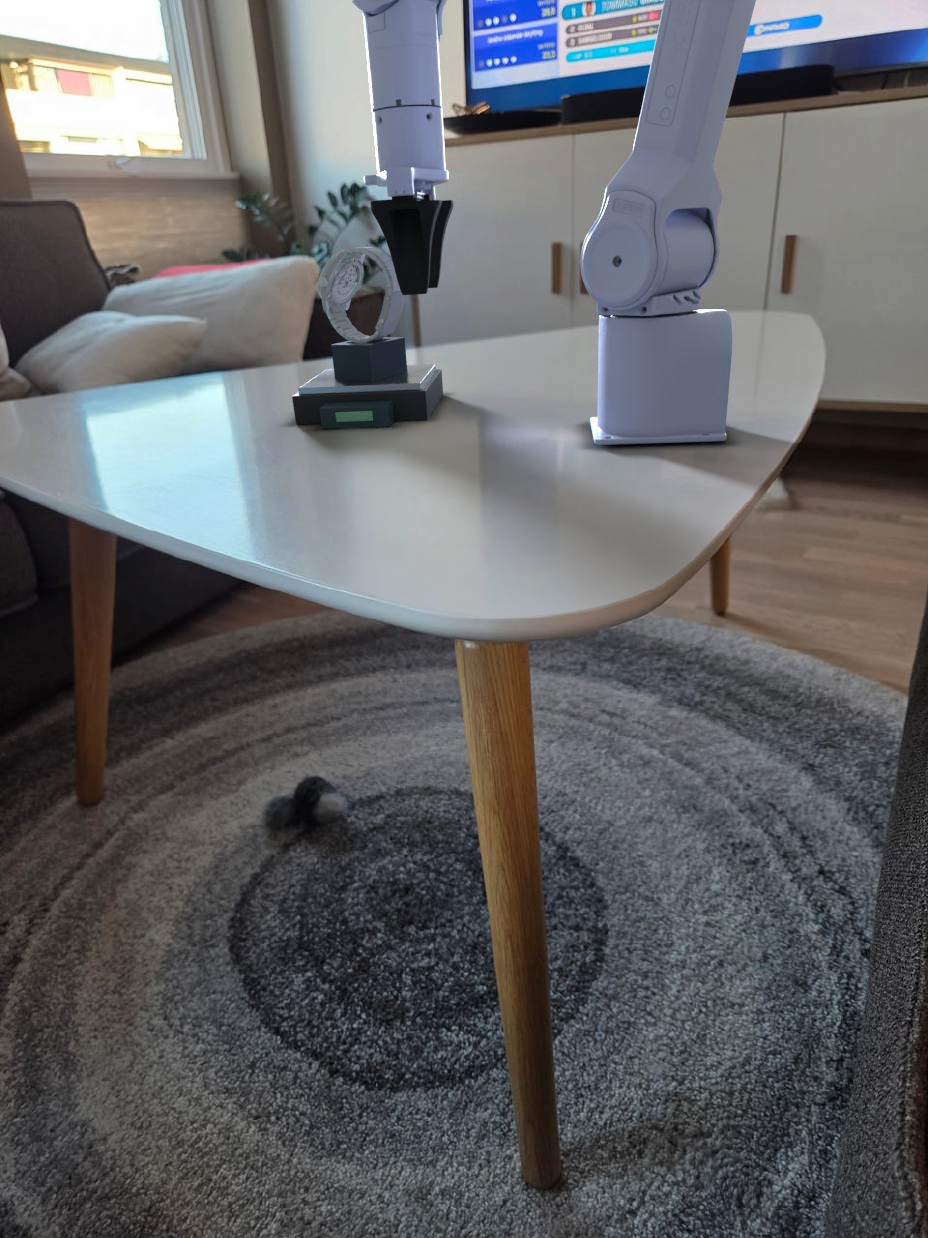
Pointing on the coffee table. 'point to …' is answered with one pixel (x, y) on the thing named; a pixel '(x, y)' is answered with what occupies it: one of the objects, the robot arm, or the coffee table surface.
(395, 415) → the scale
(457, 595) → the coffee table surface
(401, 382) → the scale pan
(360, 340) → the watch
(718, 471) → the coffee table surface
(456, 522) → the coffee table surface
